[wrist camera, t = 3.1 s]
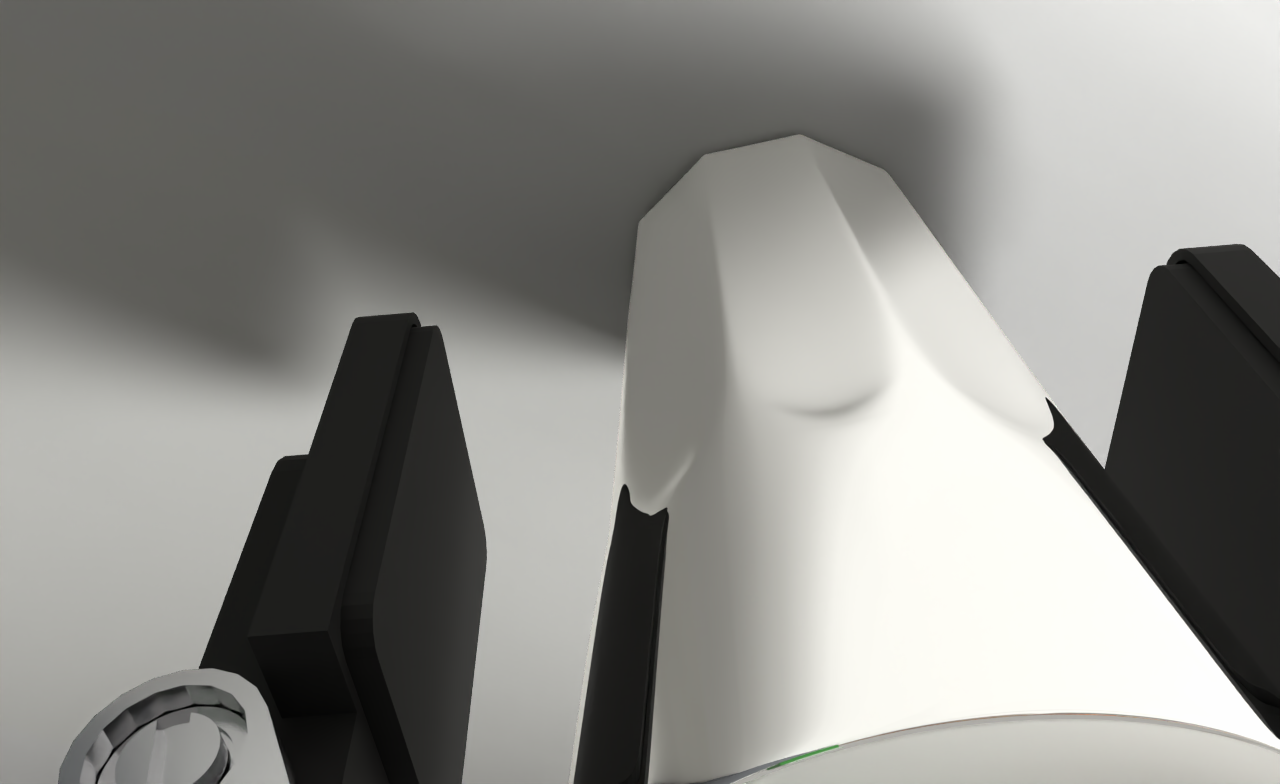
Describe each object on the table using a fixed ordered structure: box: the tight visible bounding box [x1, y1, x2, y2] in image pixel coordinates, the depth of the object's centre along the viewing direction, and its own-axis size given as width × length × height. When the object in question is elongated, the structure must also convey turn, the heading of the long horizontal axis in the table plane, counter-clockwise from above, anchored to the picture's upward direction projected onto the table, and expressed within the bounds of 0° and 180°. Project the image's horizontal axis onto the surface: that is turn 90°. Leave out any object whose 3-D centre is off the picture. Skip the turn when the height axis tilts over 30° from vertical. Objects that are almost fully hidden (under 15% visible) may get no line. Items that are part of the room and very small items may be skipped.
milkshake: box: [568, 134, 1280, 784], centre depth 8 cm, size 4×5×10 cm
